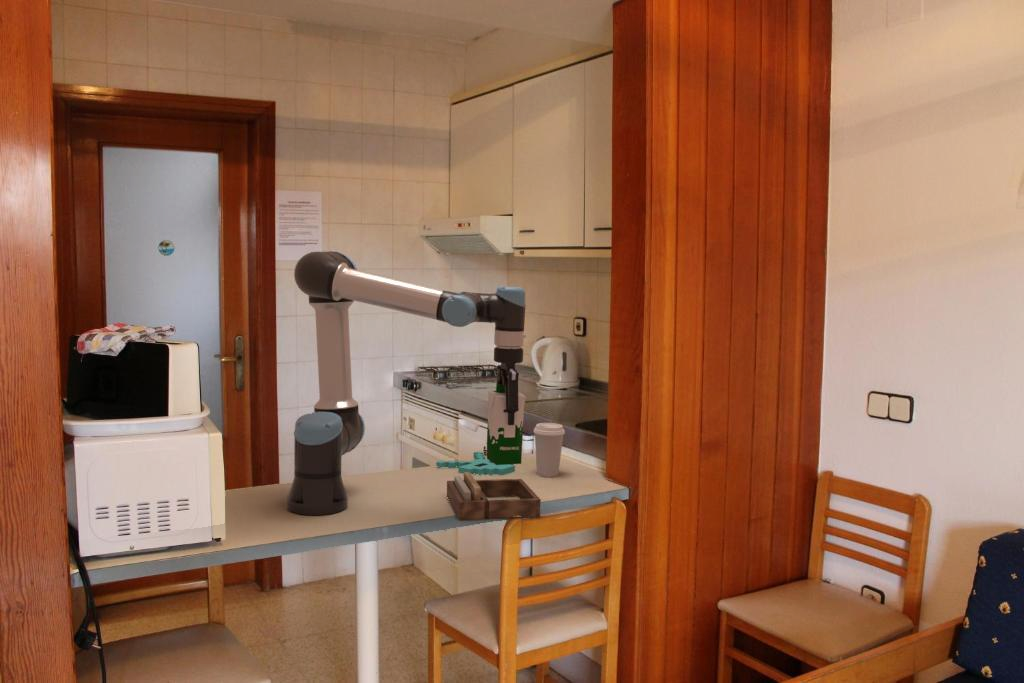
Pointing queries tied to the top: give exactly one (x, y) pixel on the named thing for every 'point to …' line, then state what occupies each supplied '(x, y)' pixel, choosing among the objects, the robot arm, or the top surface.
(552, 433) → the coffee cup
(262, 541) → the top surface
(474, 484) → the birch offcut
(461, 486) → the grey offcut
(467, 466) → the alien figure
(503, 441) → the soya milk
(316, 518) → the top surface
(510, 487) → the offcut rack
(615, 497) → the top surface
